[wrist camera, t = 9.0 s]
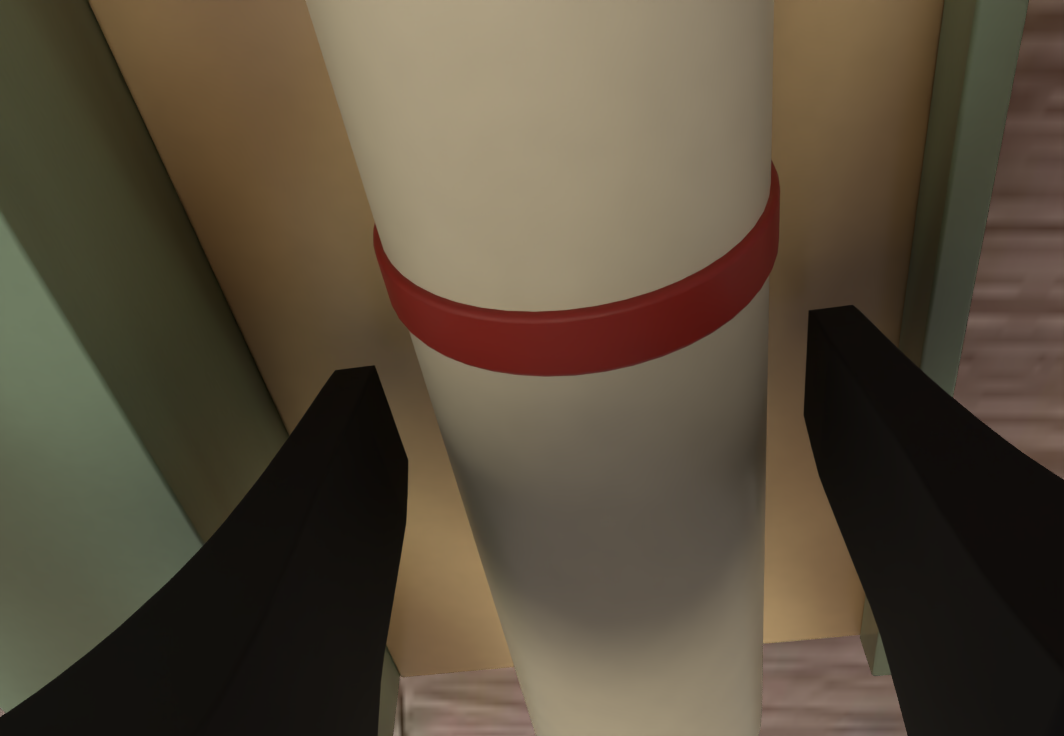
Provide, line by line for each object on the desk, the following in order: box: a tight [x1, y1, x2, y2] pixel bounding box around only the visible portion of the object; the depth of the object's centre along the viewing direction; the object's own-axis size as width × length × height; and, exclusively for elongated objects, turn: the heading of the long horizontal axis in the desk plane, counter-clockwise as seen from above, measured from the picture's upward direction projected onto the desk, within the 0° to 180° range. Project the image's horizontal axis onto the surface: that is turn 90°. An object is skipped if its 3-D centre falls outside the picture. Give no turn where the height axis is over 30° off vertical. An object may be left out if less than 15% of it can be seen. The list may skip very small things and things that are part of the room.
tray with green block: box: [0, 0, 1029, 736], centre depth 14 cm, size 16×19×6 cm
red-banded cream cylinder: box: [305, 0, 780, 736], centre depth 13 cm, size 15×5×5 cm, turn 9°
